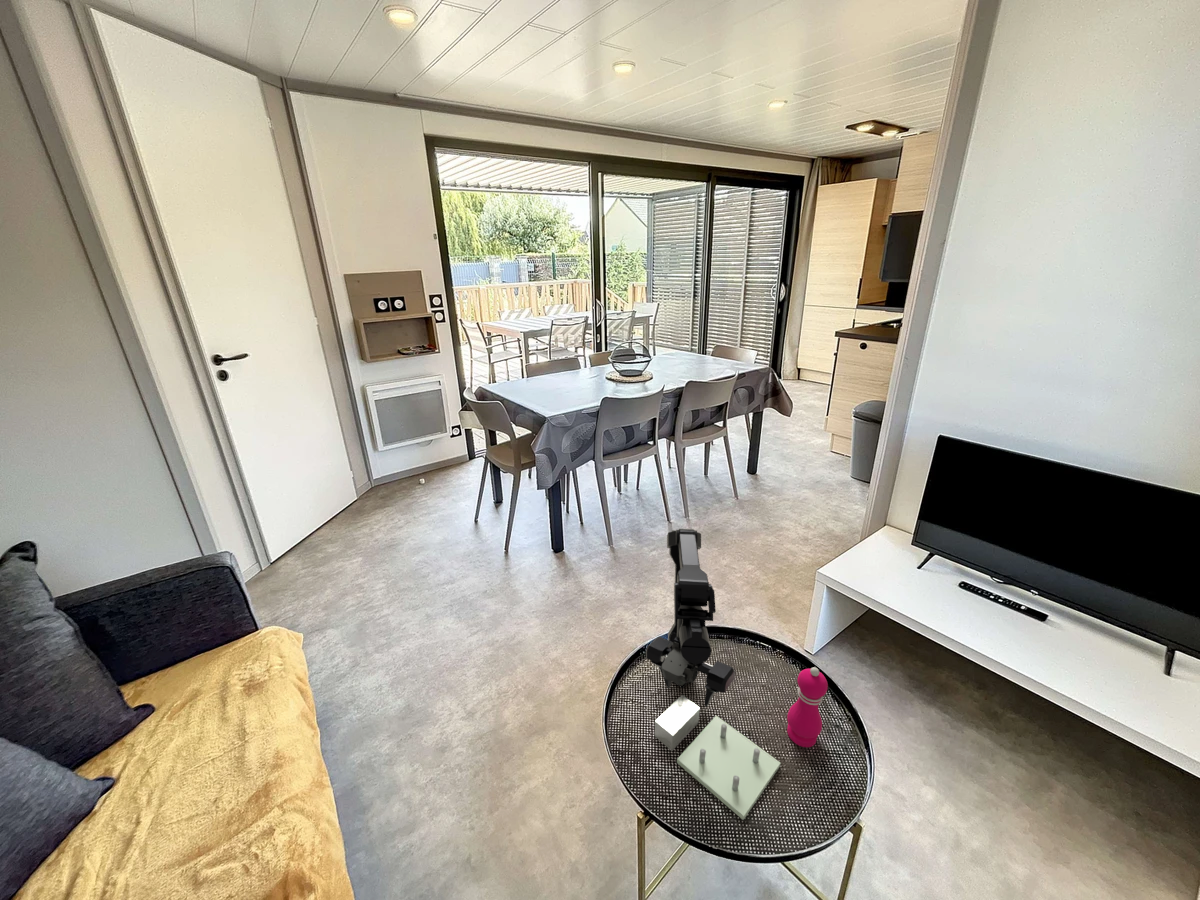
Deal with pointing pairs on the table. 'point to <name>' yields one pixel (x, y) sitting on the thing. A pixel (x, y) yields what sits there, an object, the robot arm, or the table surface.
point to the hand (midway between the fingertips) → (687, 696)
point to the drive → (677, 722)
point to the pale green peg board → (729, 766)
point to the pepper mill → (807, 708)
